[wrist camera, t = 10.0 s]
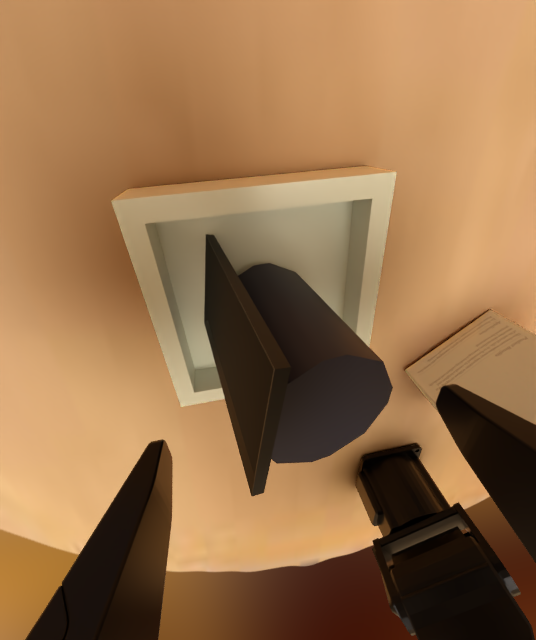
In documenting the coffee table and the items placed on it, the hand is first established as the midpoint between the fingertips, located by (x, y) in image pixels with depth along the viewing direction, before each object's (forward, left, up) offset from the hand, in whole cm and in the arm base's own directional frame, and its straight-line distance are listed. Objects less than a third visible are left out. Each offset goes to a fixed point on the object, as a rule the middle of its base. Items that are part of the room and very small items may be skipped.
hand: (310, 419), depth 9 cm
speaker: (0, 0, -9) cm, 9 cm away
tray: (0, 0, -10) cm, 10 cm away
